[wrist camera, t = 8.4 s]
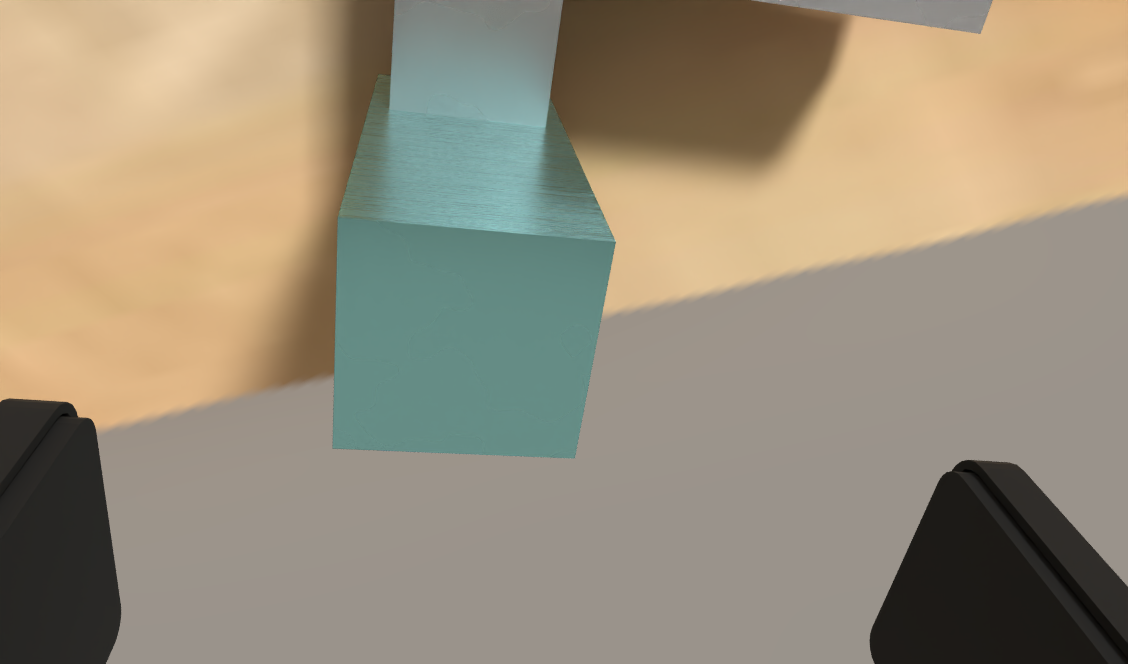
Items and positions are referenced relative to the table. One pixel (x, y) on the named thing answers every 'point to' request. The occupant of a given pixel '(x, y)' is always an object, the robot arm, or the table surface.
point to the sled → (484, 236)
